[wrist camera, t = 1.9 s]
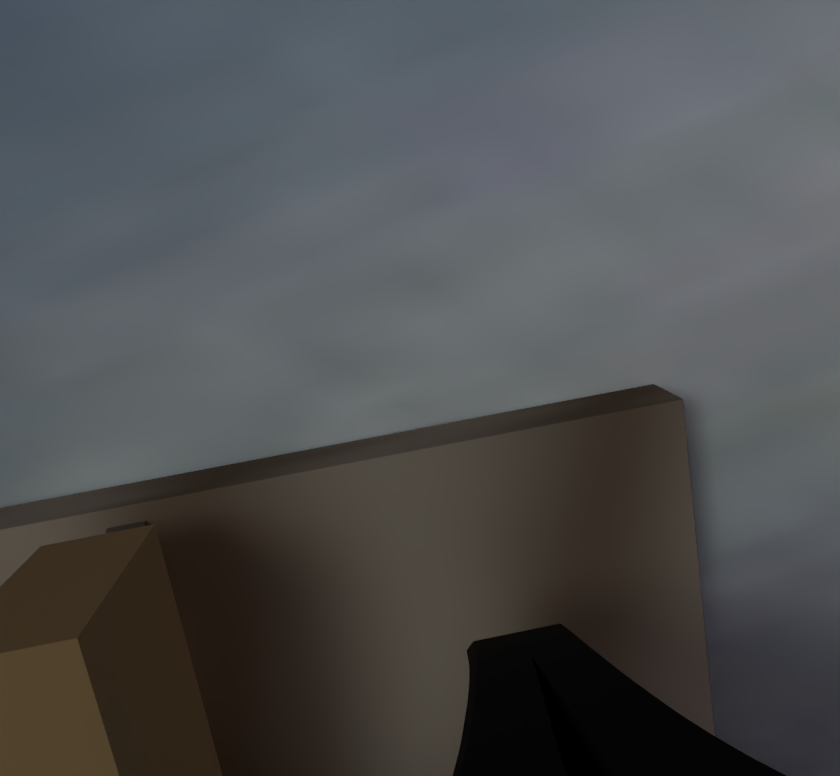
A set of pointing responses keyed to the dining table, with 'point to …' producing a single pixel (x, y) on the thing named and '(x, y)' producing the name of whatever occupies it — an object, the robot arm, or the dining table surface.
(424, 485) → the post board
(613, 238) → the dining table surface
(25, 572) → the lever with round base
